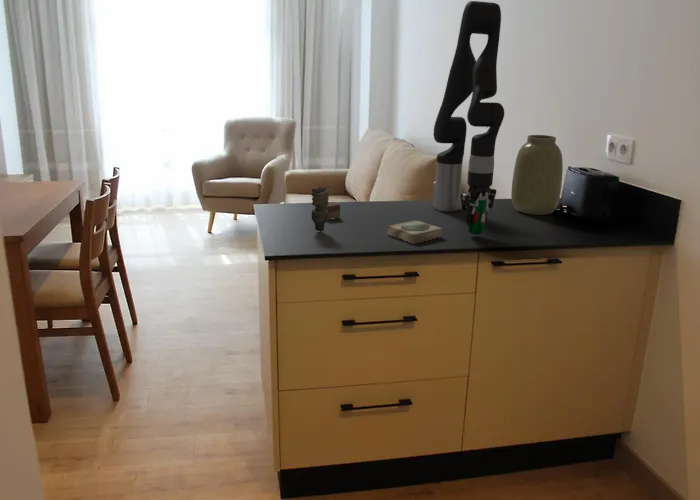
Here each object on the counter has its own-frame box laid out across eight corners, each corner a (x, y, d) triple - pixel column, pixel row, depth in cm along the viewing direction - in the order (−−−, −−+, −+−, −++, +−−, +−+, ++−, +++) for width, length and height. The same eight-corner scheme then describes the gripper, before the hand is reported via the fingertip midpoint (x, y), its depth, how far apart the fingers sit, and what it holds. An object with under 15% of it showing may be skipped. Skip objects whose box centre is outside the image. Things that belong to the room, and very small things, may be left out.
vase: (520, 202, 241) (527, 132, 233) (564, 209, 232) (573, 136, 223) (502, 211, 228) (509, 136, 220) (548, 219, 218) (557, 141, 210)
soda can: (483, 235, 193) (487, 197, 189) (467, 234, 194) (470, 196, 190) (483, 230, 198) (487, 193, 194) (467, 229, 199) (470, 192, 195)
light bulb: (331, 231, 200) (332, 185, 195) (325, 236, 195) (325, 188, 190) (315, 229, 202) (315, 183, 197) (308, 234, 197) (308, 187, 192)
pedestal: (387, 234, 197) (387, 225, 196) (415, 228, 204) (415, 219, 203) (413, 244, 188) (414, 234, 187) (441, 237, 195) (442, 227, 194)
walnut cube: (327, 206, 211) (327, 220, 213) (340, 204, 214) (339, 218, 215) (320, 203, 215) (320, 217, 217) (332, 201, 218) (332, 215, 219)
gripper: (487, 165, 196) (482, 217, 202) (455, 170, 188) (451, 224, 193) (506, 169, 191) (500, 222, 196) (474, 174, 182) (469, 230, 188)
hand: (476, 223), depth 195 cm, fingers closed on soda can, 5 cm apart
